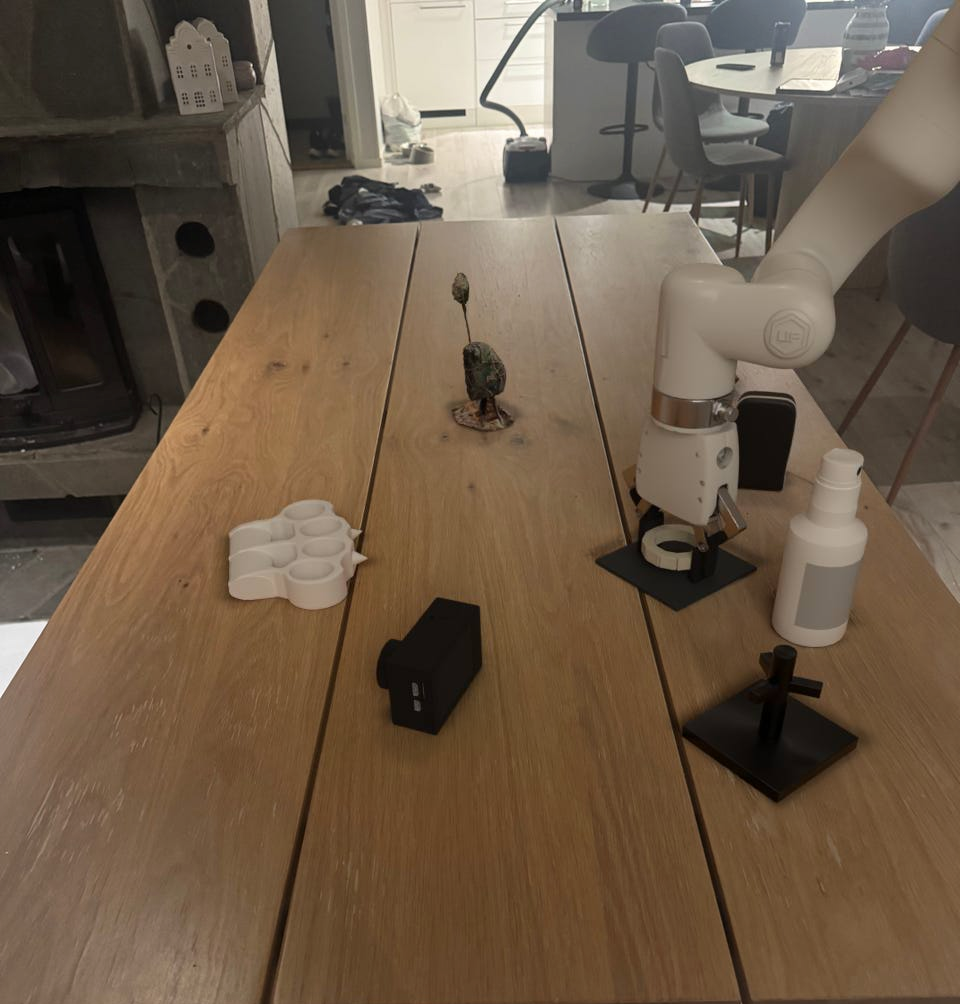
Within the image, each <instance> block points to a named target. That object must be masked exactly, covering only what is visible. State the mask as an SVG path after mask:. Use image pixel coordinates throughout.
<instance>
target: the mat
mask: <svg viewBox="0 0 960 1004" xmlns="http://www.w3.org/2000/svg"><path fill="white" fill-rule="evenodd" d="M637 544H638V540H636V541H633V542H631V543H629V544H627V545H625V546H622V547H620V548H618V549H616V550H614V551H612V552H609V553H607V554H605V555H603V556H600V557H598V558H595V560H594V563H595V564H596V565H598V566H600V567H601V568H603V569H605V570H606V571H609V573H612V574H613V575H615V576H616V577H618V578H620V579H622V580H623V581H625V582H626V583H628V584H630V585H632V586H633V587H634V588H636V589H638V590H640V591H642V592H643V593H645V594H646V595H648V596H651V598H653V599H655V600H657V601H658V602H659V603H662V604H663V605H665V606H667V607H668V608H670V609H672V610H673V611H675V612H679V611H681V610H683V609H685V608H687V607H688V606H691V605H692V604H695V603H696V602H698V601H700V600H703V599H704V598H706V597H708V596H710V595H712V594H714V593H716V592H718V591H719V590H721V589H724V588H726V587H727V586H729V585H731V584H733V583H735V582H737V581H739V580H741V579H743V578H745V577H746V576H748V575H750V574H752V573H755V572H756V571H758V566H756V565H755V564H752V563H750V562H749V561H747V560H745V559H743V558H741V557H739V556H737V555H735V554H733V553H732V552H729V551H727V550H725V549H723V548H722V547H719V548H718V556H717V563H716V570H715V572H714V574H713V575H711V576H709V577H707V578H705V579H704V580H702V581H700V582H698V583H695V584H694V583H693V582H691V581H690V579H689V577H690V569H688V570H677V569H676V570H671V569H666V568H660V566H659V567H657V566H655V565H654V564H652V563H650V562H648V561H647V560H646V559H645V557H644V555H643V554H641V553H639V552H638V551H637ZM659 548H661V549H663V550H665V551H668V552H674V553H684V552H690V551H693V549H694V548H696V547H694V546H693V545H691V544H689V543H686V542H681V541H675V540H674V541H664V542H662V544H661V545H660V546H659Z"/></svg>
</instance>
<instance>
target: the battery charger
mask: <svg viewBox="0 0 960 1004" xmlns="http://www.w3.org/2000/svg"><path fill="white" fill-rule="evenodd" d="M735 408H737V409H738V410H739V414H738V417H737V419H736V420H735V421H734V422H735V423H736V426H737V433H738V444H739V472H738V488H739V489H748V490H757V491H758V490H759V491H777V492H778V491H779V492H781V491H782V490H783V489H784V488H785V483H786V482H785V481H786V475H787V469H788V463H789V461H790V457H791V451H792V447H793V443H794V437H795V431H796V426H797V425H796V424H797V418H798V407H797V403H796V399H795V398H794V397H793V395H791V394H790V393H786V392H778V391H767V390H747V391H745V392H743V393H742V394H740V396H739V398H738V400H737V403H736V405H735Z"/></svg>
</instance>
